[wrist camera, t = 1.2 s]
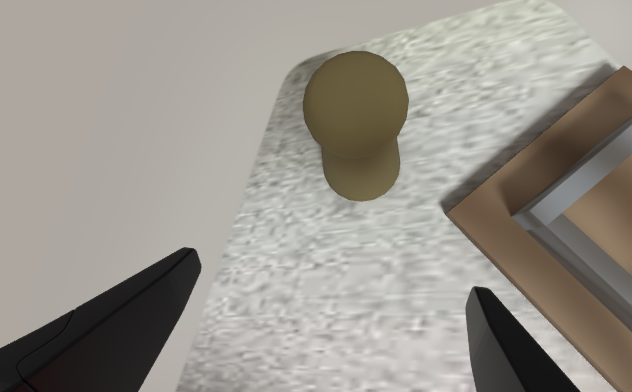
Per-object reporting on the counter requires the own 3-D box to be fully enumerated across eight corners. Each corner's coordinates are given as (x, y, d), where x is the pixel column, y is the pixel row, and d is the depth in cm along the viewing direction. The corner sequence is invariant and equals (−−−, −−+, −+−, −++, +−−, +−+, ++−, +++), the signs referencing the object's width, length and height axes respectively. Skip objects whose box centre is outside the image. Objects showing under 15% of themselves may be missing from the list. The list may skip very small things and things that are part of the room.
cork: (416, 170, 23) (454, 92, 13) (353, 217, 23) (337, 178, 13) (368, 114, 25) (365, 5, 14) (308, 158, 25) (263, 81, 15)
